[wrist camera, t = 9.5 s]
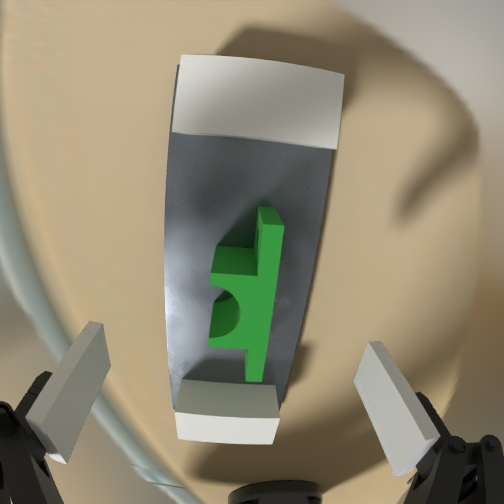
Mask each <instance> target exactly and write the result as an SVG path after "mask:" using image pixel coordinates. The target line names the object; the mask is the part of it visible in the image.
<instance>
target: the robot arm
mask: <svg viewBox="0 0 504 504" xmlns="http://www.w3.org/2000/svg"><path fill="white" fill-rule="evenodd" d="M110 367H111V364H110V359H109V354H108V349H107V344H106V339H105V334H104V328H103V323H97V322H92V321H89V322H88V324H87V325H86V326H85V328H84V329H83V330H82V332H81V333H80V335H79V336H78V337H77V339H76V340H75V342H74V343H73V344H72V346H71V347H70V349H69V350H68V352H67V353H66V354H65V356H64V357H63V359H62V360H61V362H60V363H59V365H58V366H57V368H56V369H55V371H54V372H53V373H51V372H47V371H45V372H43V373H42V374H40V375H39V376H38V377H37V378H36V379H35V381H34V382H33V383H32V386H31V387H30V388H29V389H28V392H27V393H26V394H25V396H24V397H23V399H22V400H21V402H20V403H19V405H18V406H17V408H16V409H15V411H13V409H12V407H11V406H10V405H9V404H8V403H6V402H3V401H0V504H11V500H12V503H13V504H64V502H63V500H62V498H61V496H60V494H59V492H58V489H57V487H56V485H55V482H54V480H53V478H52V475H51V473H50V470H49V468H48V465H47V462H46V460H45V459H44V456H45V453H46V452H47V453H48V454H49V455H50V457H51V458H52V459H54V460H56V461H59V462H62V463H64V464H68V461H69V459H70V456H71V454H72V451H73V449H74V446H75V444H76V442H77V439H78V436H79V434H80V432H81V430H82V427H83V425H84V423H85V421H86V418H87V416H88V414H89V412H90V409H91V407H92V405H93V403H94V401H95V398H96V396H97V394H98V392H99V390H100V388H101V386H102V383H103V381H104V379H105V377H106V375H107V373H108V371H109V369H110ZM353 382H354V384H355V386H356V388H357V390H358V393H359V395H360V397H361V399H362V402H363V404H364V406H365V408H366V411H367V413H368V415H369V417H370V420H371V422H372V424H373V427H374V429H375V431H376V434H377V436H378V438H379V441H380V443H381V445H382V448H383V450H384V453H385V455H386V457H387V460H388V462H389V465H390V467H391V469H392V472H393V474H394V477H397V476H401V475H404V474H408V473H410V471H411V470H412V469H413V468H414V467H415V466H416V468H417V470H418V471H417V472H416V473H415V475H414V476H413V477H412V478H411V479H410V480H409V481H408V482H407V484H409V483H411V482H412V484H411V487H410V489H409V492H408V494H407V497H406V499H405V501H404V504H504V456H503V450H502V445H501V442H500V441H499V439H498V438H497V437H495V436H493V435H485V436H484V437H483V438H482V439H481V440H480V441H479V442H478V443H466V442H465V441H464V440H463V439H462V438H460V437H458V436H451V434H450V433H449V431H448V430H447V428H446V426H445V425H444V423H443V422H442V420H441V418H440V417H439V415H438V414H437V412H436V410H435V409H434V408H433V406H432V404H431V403H430V401H429V399H428V398H427V397H426V396H424V395H423V394H422V393H421V392H417V393H414V391H413V390H412V388H411V387H410V385H409V383H408V382H407V380H406V379H405V377H404V376H403V374H402V372H401V371H400V369H399V368H398V366H397V365H396V363H395V362H394V360H393V359H392V357H391V356H390V354H389V353H388V351H387V349H386V348H385V346H384V345H383V343H382V342H381V341H373V342H368V344H367V347H366V350H365V352H364V355H363V358H362V360H361V363H360V365H359V368H358V371H357V373H356V376H355V378H354V380H353ZM476 477H477V480H476ZM10 497H11V500H10ZM228 504H322V494H321V489H320V487H319V486H318V485H316V484H314V483H310V482H303V481H278V482H268V483H261V484H256V485H251V486H247V487H244V488H241V489H238V490H236V491H234V492H232V493H231V494H230V495H229V497H228Z"/></svg>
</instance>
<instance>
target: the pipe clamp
mask: <svg viewBox="0 0 504 504" xmlns="http://www.w3.org/2000/svg"><path fill="white" fill-rule="evenodd" d="M283 233H284V224H283V222H282V220H281V218H280V217H279V215H278V213H277V211H276V209H275V208H272V207H261V206H258V211H257V221H256V231H255V241H254V248H240V247H226V246H216V248H215V253H214V258H213V263H212V268H211V273H210V285H214V286H218V287H221V288H223V289H225V290H227V291H229V292H230V293H231V294H232V295H233V296H232V297H231V298H229V299H227V300H225V301H222V302H213V309H212V316H211V324H210V331H209V343H208V347H216V348H231V349H245V376H246V381H248V382H262V377H263V371H264V365H265V358H266V352H267V346H268V339H269V333H270V326H271V320H272V313H273V306H274V299H275V292H276V285H277V278H278V271H279V263H280V256H281V248H282V241H283Z"/></svg>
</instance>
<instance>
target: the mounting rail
mask: <svg viewBox="0 0 504 504" xmlns="http://www.w3.org/2000/svg"><path fill="white" fill-rule="evenodd" d="M344 77H345V74H341V73H337V72H332V71H328V70H323V69H318V68H313V67H308V66H303V65H297V64H291V63H285V62H278V61H271V60H263V59H254V58H243V57H231V56H213V55H181V60H180V64H178V66H177V73H176V80H175V88H174V96H173V105H172V114H171V124H170V134H169V146H168V160H167V176H166V196H165V229H164V280H165V313H166V333H167V349H168V362H169V374H170V385H171V395H172V404H173V409H175V418H176V426H177V434H178V439H184V440H193V441H203V442H215V443H231V444H272V443H273V440H274V437H275V434H276V430H277V427H278V424H279V420H280V414H279V411H280V408H281V404H282V401H283V397H284V393H285V389H286V386H287V382H288V378H289V374H290V370H291V366H292V362H293V358H294V354H295V350H296V346H297V342H298V338H299V333H300V329H301V325H302V320H303V316H304V311H305V307H306V302H307V297H308V293H309V288H310V283H311V278H312V273H313V268H314V263H315V257H316V252H317V247H318V241H319V236H320V230H321V224H322V218H323V212H324V206H325V200H326V194H327V187H328V180H329V174H330V167H331V159H332V152H333V149H337V143H338V135H339V127H340V118H341V109H342V99H343V88H344ZM258 206H261V207H272V208H275V209H276V211H277V213H278V215H279V217H280V218H281V220H282V222H283V224H284V233H283V241H282V248H281V256H280V263H279V271H278V278H277V285H276V292H275V299H274V306H273V313H272V320H271V326H270V333H269V339H268V346H267V352H266V358H265V365H264V371H263V377H262V382H248V381H246V376H245V349H231V348H216V347H208V343H209V331H210V324H211V316H212V309H213V302H222V301H225V300H227V299H229V298H231V297H232V296H233V295H232V294H231V293H230V292H229V291H227V290H225V289H223V288H221V287H218V286H214V285H210V273H211V268H212V263H213V258H214V253H215V248H216V246H226V247H240V248H254V241H255V231H256V221H257V211H258Z"/></svg>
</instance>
